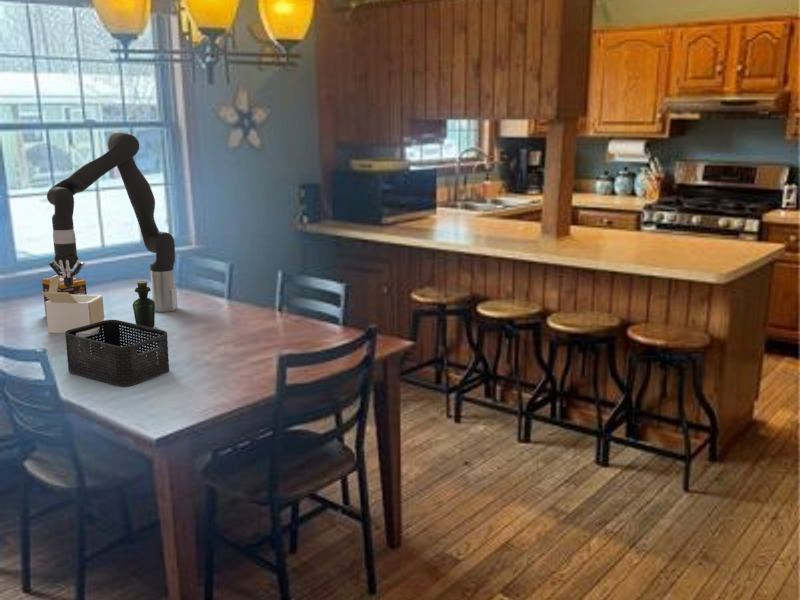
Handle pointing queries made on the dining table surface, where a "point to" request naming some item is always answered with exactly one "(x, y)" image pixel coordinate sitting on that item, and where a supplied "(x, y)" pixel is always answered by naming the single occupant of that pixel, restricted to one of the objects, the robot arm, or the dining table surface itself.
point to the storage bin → (117, 353)
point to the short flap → (54, 283)
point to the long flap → (59, 297)
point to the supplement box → (76, 288)
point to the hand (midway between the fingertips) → (69, 286)
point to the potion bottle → (144, 306)
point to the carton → (75, 314)
